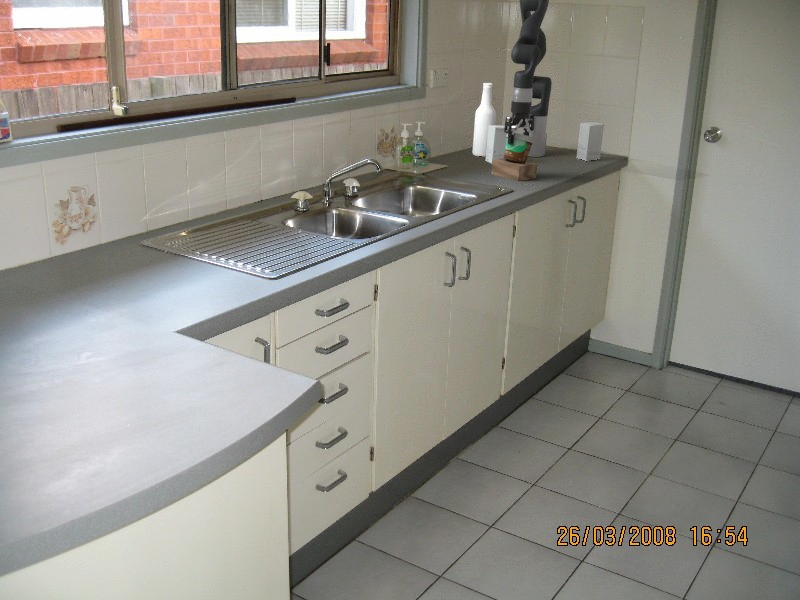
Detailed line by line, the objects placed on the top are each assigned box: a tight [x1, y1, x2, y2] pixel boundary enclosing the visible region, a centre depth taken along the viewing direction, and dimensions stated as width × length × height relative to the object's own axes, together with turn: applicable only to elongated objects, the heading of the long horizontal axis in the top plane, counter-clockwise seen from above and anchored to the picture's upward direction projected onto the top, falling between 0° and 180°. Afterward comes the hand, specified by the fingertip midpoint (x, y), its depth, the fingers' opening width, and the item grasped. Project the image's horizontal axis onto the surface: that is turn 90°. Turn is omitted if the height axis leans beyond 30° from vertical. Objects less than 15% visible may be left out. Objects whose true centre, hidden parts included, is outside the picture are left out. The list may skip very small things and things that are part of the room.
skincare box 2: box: [576, 121, 605, 162], centre depth 372 cm, size 8×7×16 cm
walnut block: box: [491, 158, 538, 182], centre depth 335 cm, size 10×14×6 cm
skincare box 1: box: [485, 124, 513, 165], centre depth 358 cm, size 8×6×15 cm
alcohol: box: [471, 82, 497, 158], centre depth 369 cm, size 9×9×30 cm
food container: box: [504, 132, 534, 163], centre depth 332 cm, size 12×6×10 cm, turn 43°
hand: (517, 143), depth 332 cm, fingers open, 8 cm apart
